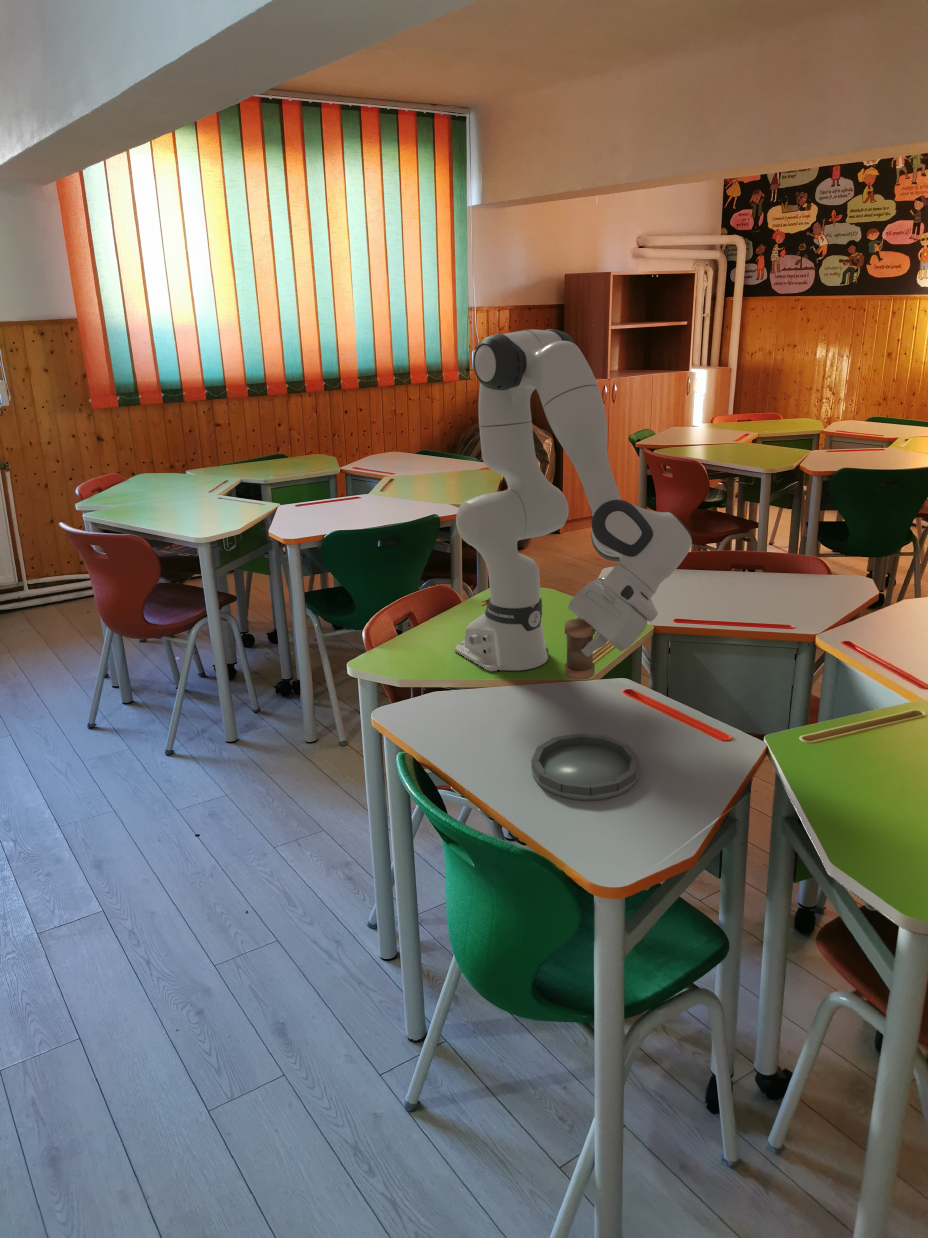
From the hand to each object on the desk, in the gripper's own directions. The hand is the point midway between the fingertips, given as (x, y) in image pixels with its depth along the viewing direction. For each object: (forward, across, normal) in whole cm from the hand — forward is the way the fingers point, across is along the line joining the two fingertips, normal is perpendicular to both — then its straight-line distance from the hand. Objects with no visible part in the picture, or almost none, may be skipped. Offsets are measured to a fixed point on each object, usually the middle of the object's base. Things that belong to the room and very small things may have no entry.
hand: (576, 647), depth 165 cm
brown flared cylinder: (+3, 0, +4) cm, 5 cm away
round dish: (+15, +16, +7) cm, 24 cm away
